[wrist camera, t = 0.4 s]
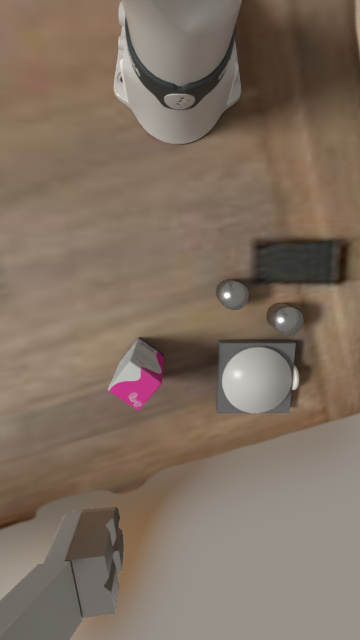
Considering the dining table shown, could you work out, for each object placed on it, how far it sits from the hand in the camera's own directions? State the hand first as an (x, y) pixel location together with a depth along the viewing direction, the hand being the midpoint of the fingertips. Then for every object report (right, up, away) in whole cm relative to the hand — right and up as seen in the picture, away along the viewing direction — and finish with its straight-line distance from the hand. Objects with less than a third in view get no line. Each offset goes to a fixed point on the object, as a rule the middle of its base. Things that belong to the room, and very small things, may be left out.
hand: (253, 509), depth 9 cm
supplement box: (-9, -1, +46) cm, 47 cm away
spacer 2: (+15, +7, +45) cm, 48 cm away
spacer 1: (+6, +10, +44) cm, 46 cm away
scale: (+11, -4, +48) cm, 50 cm away
